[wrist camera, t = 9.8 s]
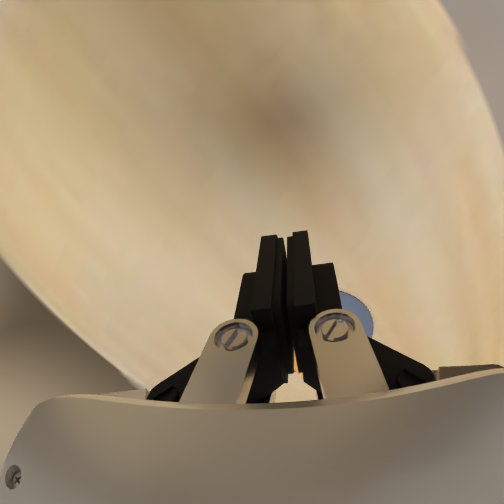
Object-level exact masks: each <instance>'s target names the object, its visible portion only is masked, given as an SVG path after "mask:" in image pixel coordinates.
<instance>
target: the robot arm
mask: <svg viewBox="0 0 504 504" xmlns="http://www.w3.org/2000/svg"><path fill="white" fill-rule="evenodd" d="M294 351H295V356H296V362H297V367H298V373H303V379H304V382H305V383H307V384H308V385H309V386H311V387H312V388H314V389H315V390H316V396H317V400H311V401H299V402H283V403H274V402H275V398H276V391H275V390H276V389H277V388H279V387H280V386H281V385H282V384H283V383H288V374H292V373H294ZM0 504H504V367H502V366H500V365H496V364H488V365H472V366H450V367H439V368H438V370H430V369H429V368H428V367H426V366H425V365H423V364H421V363H419V362H417V361H415V360H413V359H411V358H409V357H407V356H405V355H403V354H401V353H399V352H397V351H395V350H393V349H391V348H389V347H387V346H385V345H383V344H381V343H379V342H378V341H376V340H374V339H372V338H370V337H368V336H367V335H366V333H365V331H364V329H363V326H362V324H361V322H360V320H359V319H358V317H357V316H356V315H355V314H353V313H352V312H350V311H347V310H344V309H342V305H341V300H340V294H339V289H338V284H337V279H336V275H335V270H334V265H333V263H326V264H318V265H312V262H311V254H310V247H309V239H308V232H307V230H306V231H299V232H293V236H291V237H287V257H286V251H285V246H284V240H283V238H278V237H277V235H269V236H262V237H261V243H260V249H259V256H258V262H257V269H256V272H252V273H244V274H243V278H242V282H241V287H240V292H239V297H238V301H237V306H236V311H235V316H234V319H232V320H229V321H225V322H223V323H222V324H220V325H218V326H217V327H216V328H215V329H214V330H213V331H212V333H211V334H210V336H209V338H208V341H207V343H206V345H205V347H204V349H203V351H202V354H201V356H200V357H199V358H197V359H196V360H194V361H193V362H191V363H190V364H188V365H187V366H185V367H184V368H182V369H181V370H179V371H178V372H176V373H175V374H173V375H171V376H170V377H168V378H167V379H165V380H164V381H162V382H161V383H159V384H158V385H156V386H155V387H154V388H153V389H152V390H151V391H149V392H148V390H147V389H139V390H131V391H123V392H114V393H104V394H98V395H88V394H74V395H63V396H59V397H54V398H51V399H48V400H45V401H43V402H41V403H39V404H38V405H37V406H36V407H35V408H34V409H33V410H32V411H31V413H30V414H29V416H28V417H27V419H26V420H25V422H24V424H23V425H22V427H21V429H20V431H19V432H18V434H17V436H16V438H15V440H14V442H13V445H12V447H11V449H10V451H9V453H8V455H7V458H6V460H5V462H4V465H3V468H2V470H1V473H0Z"/></svg>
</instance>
